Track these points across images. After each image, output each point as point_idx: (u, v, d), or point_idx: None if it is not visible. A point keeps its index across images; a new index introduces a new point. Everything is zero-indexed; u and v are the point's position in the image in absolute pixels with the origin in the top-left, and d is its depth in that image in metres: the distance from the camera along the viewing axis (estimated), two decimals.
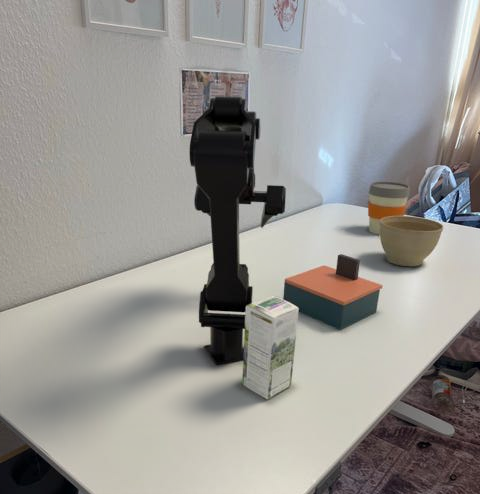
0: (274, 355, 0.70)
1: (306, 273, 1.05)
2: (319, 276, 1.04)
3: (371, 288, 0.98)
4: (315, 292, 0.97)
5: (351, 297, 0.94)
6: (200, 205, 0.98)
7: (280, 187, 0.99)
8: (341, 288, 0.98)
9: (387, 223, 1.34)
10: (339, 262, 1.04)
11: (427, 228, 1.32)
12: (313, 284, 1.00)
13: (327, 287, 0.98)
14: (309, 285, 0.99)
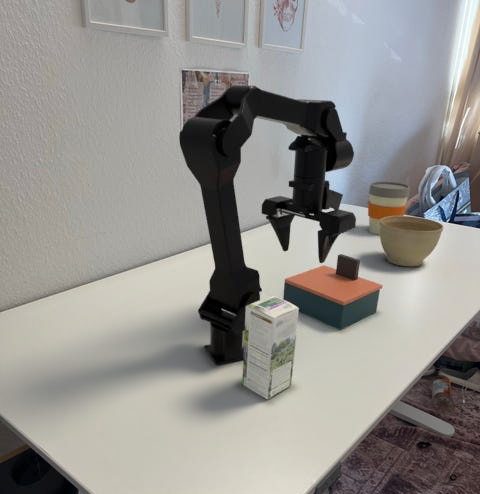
0: (274, 355, 0.70)
1: (306, 273, 1.05)
2: (319, 276, 1.04)
3: (371, 288, 0.98)
4: (315, 292, 0.97)
5: (351, 297, 0.94)
6: (264, 207, 0.94)
7: (348, 212, 0.86)
8: (341, 288, 0.98)
9: (387, 223, 1.34)
10: (339, 262, 1.04)
11: (428, 228, 1.32)
12: (313, 284, 1.00)
13: (327, 287, 0.98)
14: (309, 285, 0.99)
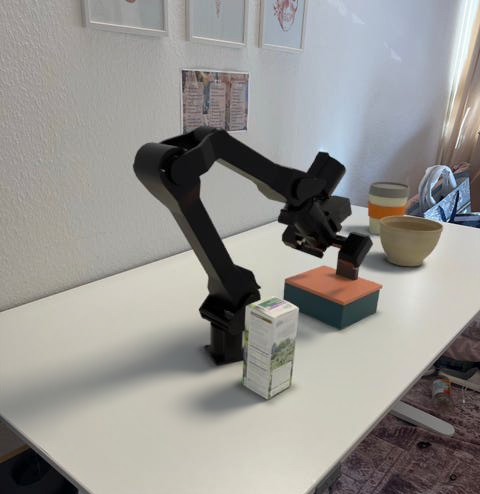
0: (274, 355, 0.70)
1: (306, 273, 1.05)
2: (319, 276, 1.04)
3: (371, 288, 0.98)
4: (315, 292, 0.97)
5: (351, 297, 0.94)
6: (285, 242, 0.98)
7: (361, 238, 0.87)
8: (341, 288, 0.98)
9: (387, 223, 1.34)
10: (339, 262, 1.04)
11: (428, 228, 1.32)
12: (313, 284, 1.00)
13: (327, 287, 0.98)
14: (309, 285, 0.99)
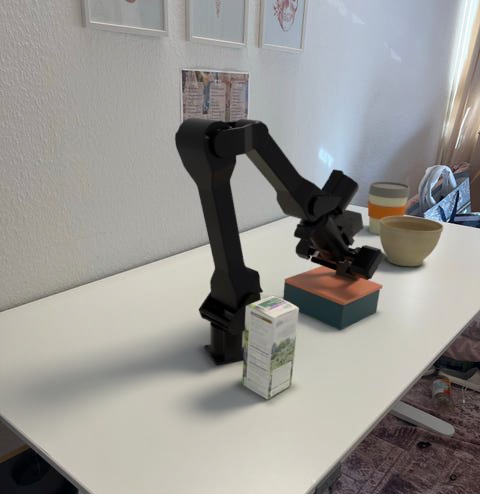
0: (274, 355, 0.70)
1: (306, 273, 1.05)
2: (319, 276, 1.04)
3: (371, 288, 0.98)
4: (315, 292, 0.97)
5: (351, 297, 0.94)
6: (299, 254, 1.03)
7: (372, 252, 0.92)
8: (341, 288, 0.98)
9: (387, 223, 1.34)
10: (339, 262, 1.04)
11: (428, 228, 1.32)
12: (313, 284, 1.00)
13: (327, 287, 0.98)
14: (309, 285, 0.99)
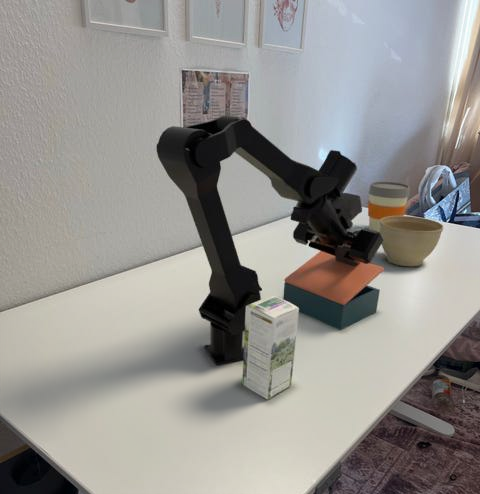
0: (274, 355, 0.70)
1: (305, 265, 1.04)
2: (318, 268, 1.02)
3: (371, 275, 0.97)
4: (315, 292, 0.97)
5: (351, 293, 0.93)
6: (296, 239, 1.01)
7: (371, 235, 0.90)
8: (341, 282, 0.97)
9: (387, 223, 1.34)
10: (336, 249, 1.01)
11: (428, 228, 1.32)
12: (313, 280, 0.99)
13: (327, 283, 0.98)
14: (308, 284, 0.99)
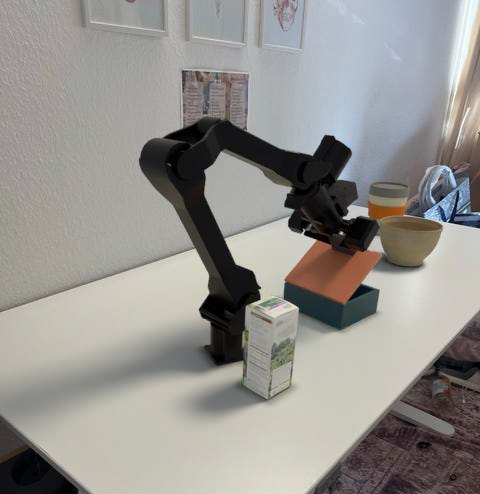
0: (274, 355, 0.70)
1: (303, 260, 1.03)
2: (316, 262, 1.01)
3: (369, 265, 0.95)
4: (315, 292, 0.97)
5: (350, 291, 0.93)
6: (291, 228, 0.98)
7: (368, 222, 0.87)
8: (339, 277, 0.96)
9: (387, 223, 1.34)
10: (331, 241, 0.99)
11: (428, 228, 1.32)
12: (312, 278, 0.99)
13: (325, 280, 0.97)
14: (308, 283, 0.98)
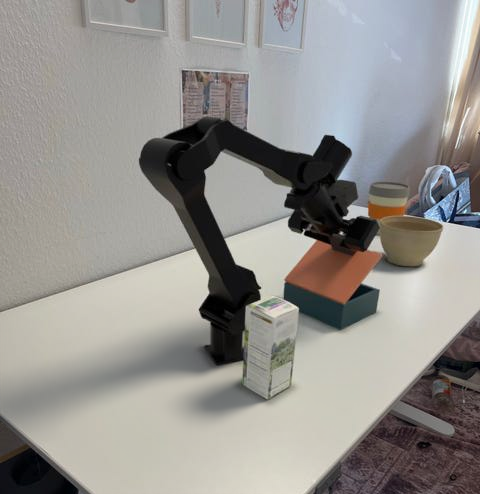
0: (274, 355, 0.70)
1: (303, 260, 1.03)
2: (316, 262, 1.01)
3: (369, 265, 0.95)
4: (315, 292, 0.97)
5: (350, 291, 0.93)
6: (291, 228, 0.98)
7: (368, 222, 0.87)
8: (339, 277, 0.96)
9: (387, 223, 1.34)
10: (331, 241, 0.99)
11: (428, 228, 1.32)
12: (312, 278, 0.99)
13: (325, 280, 0.97)
14: (308, 283, 0.98)
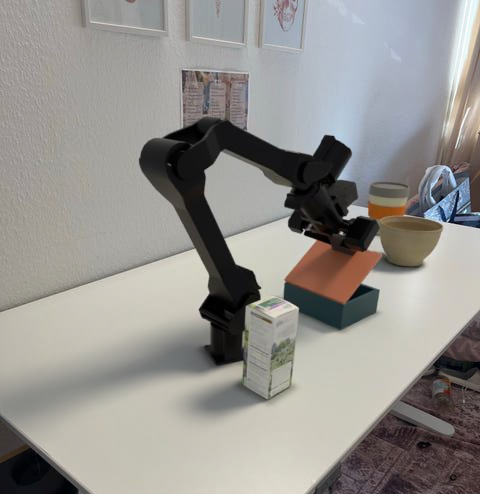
0: (274, 355, 0.70)
1: (303, 260, 1.03)
2: (316, 262, 1.01)
3: (369, 265, 0.95)
4: (315, 292, 0.97)
5: (350, 291, 0.93)
6: (291, 228, 0.98)
7: (368, 222, 0.87)
8: (339, 277, 0.96)
9: (387, 223, 1.34)
10: (331, 241, 0.99)
11: (428, 228, 1.32)
12: (312, 278, 0.99)
13: (325, 280, 0.97)
14: (308, 283, 0.98)
